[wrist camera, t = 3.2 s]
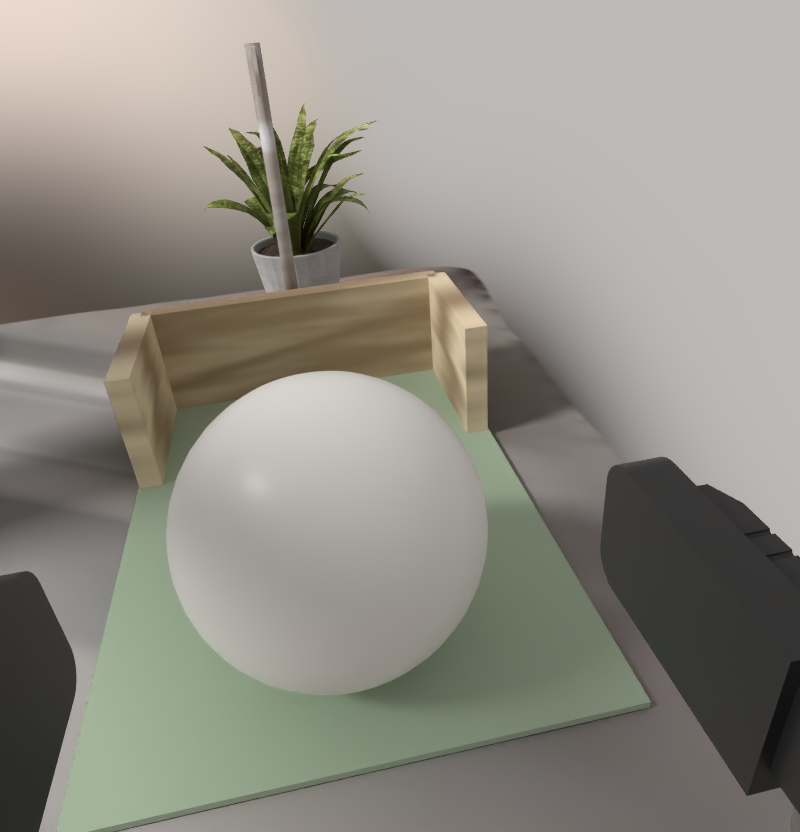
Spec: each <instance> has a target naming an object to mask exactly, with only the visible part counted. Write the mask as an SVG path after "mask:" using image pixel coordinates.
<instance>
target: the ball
mask: <svg viewBox="0 0 800 832" xmlns="http://www.w3.org/2000/svg"><path fill="white" fill-rule="evenodd" d="M487 540H488V519H487V509H486V503H485V497H484V493H483V489H482V485H481V481H480V478H479V476H478V473H477V471H476V468H475V466H474V464H473V462H472V459H471V457H470V455H469V453H468V451H467V450H466V448H465V447H464V445H463V444H462V442H461V441H460V439H459V438H458V436H457V435H456V433H455V432H454V430H453V429H452V428H451V427H450V426H449V425H448V424H447V423H446V422H445V421H444V420H443V418H442V417H441V416H440V415H439V414H438V413H437V412H436V411H435V410H434V409H432V408H431V407H430V406H428V405H427V404H426V403H424V402H423V401H422V400H420V399H419V398H418V397H416V396H415V395H413V394H412V393H410V392H408V391H406V390H404V389H402V388H400V387H398V386H396V385H394V384H392V383H390V382H387V381H385V380H382V379H379V378H375V377H372V376H368V375H364V374H359V373H354V372H347V371H316V372H308V373H302V374H296V375H292V376H288V377H284V378H281V379H278V380H275V381H272V382H269V383H267V384H265V385H262V386H260V387H258V388H256V389H255V390H253V391H251V392H249V393H248V394H246V395H244V396H243V397H241V398H240V399H238V400H237V401H235V402H234V403H232V404H231V405H230V406H228V407H227V408H226V409H225V410H224V411H223V412H222V413H221V414H219V415H218V416H217V417H216V418H215V419H214V420H213V421H212V422H211V423H210V424H209V425H208V427H207V428H206V429H205V430H204V431H203V433H202V434H201V436H200V437H199V438H198V440H197V441H196V442H195V444H194V445H193V447H192V448H191V449H190V451H189V453H188V455H187V457H186V459H185V461H184V463H183V465H182V467H181V469H180V471H179V473H178V476H177V478H176V482H175V485H174V488H173V492H172V495H171V499H170V503H169V508H168V517H167V528H166V545H167V557H168V563H169V569H170V573H171V577H172V581H173V585H174V587H175V590H176V593H177V595H178V598H179V600H180V602H181V604H182V607H183V609H184V611H185V613H186V615H187V616H188V618H189V619H190V621H191V623H192V624H193V626H194V627H195V629H196V630H197V631H198V633H199V634H200V636H201V637H202V638H203V640H204V641H205V642H206V643H207V644H208V645H209V646H210V647H211V648H212V649H213V650H214V651H215V652H216V653H217V654H218V655H219V656H221V657H222V658H223V659H224V660H225V661H226V662H228V663H229V664H230V665H232V666H233V667H234V668H236V669H237V670H239V671H240V672H242V673H244V674H246V675H248V676H250V677H252V678H254V679H256V680H258V681H259V682H261V683H263V684H266V685H269V686H272V687H275V688H278V689H281V690H285V691H290V692H295V693H301V694H307V695H321V696H326V695H343V694H349V693H355V692H360V691H364V690H367V689H371V688H375V687H377V686H380V685H382V684H385V683H387V682H390V681H392V680H394V679H396V678H398V677H400V676H402V675H403V674H405V673H407V672H409V671H410V670H412V669H413V668H414V667H416V666H417V665H419V664H420V663H422V662H423V661H424V660H426V659H427V658H428V657H429V656H431V655H432V654H433V653H434V652H435V651H436V650H437V649H438V648H439V647H440V646H441V645H442V644H443V643H444V642H445V640H446V639H447V638H448V637H449V636H450V635H451V633H452V632H453V631H454V630H455V628H456V627H457V626H458V625H459V623H460V621H461V620H462V618H463V617H464V615H465V613H466V612H467V610H468V608H469V606H470V604H471V602H472V600H473V597H474V595H475V593H476V590H477V588H478V586H479V582H480V579H481V575H482V571H483V567H484V563H485V558H486V552H487Z"/></svg>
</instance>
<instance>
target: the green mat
mask: <svg viewBox="0 0 800 832" xmlns="http://www.w3.org/2000/svg"><path fill="white" fill-rule="evenodd" d="M379 379H382V380H385V381H387V382H390V383H392V384H394V385H396V386H398V387H400V388H402V389H404V390H406V391H408V392H410V393H412V394H413V395H415V396H416V397H418V398H419V399H420V400H422V401H423V402H424V403H426V404H427V405H428V406H430V407H431V408H432V409H434V410H435V411H436V412H437V413H438V414H439V415H440V416H441V417H442V418H443V420H444V421H445V422H446V423H447V424H448V425H449V426H450V427H451V428H452V429H453V430H454V432H455V433H456V435H457V436H458V438H459V439H460V441H461V442H462V444H463V445H464V447H465V448H466V450H467V451H468V453H469V455H470V457H471V459H472V462H473V464H474V466H475V468H476V471H477V473H478V476H479V478H480V481H481V485H482V489H483V493H484V497H485V503H486V509H487V519H488V540H487V552H486V558H485V563H484V567H483V571H482V575H481V579H480V582H479V586H478V588H477V590H476V593H475V595H474V597H473V600H472V602H471V604H470V606H469V608H468V610H467V612H466V613H465V615H464V617H463V618H462V620H461V621H460V623H459V625H458V626H457V627H456V628H455V630H454V631H453V632H452V633H451V635H450V636H449V637H448V638H447V639H446V640H445V642H444V643H443V644H442V645H441V646H440V647H439V648H438V649H437V650H436V651H435V652H434V653H433V654H432V655H431V656H429V657H428V658H427V659H426V660H424V661H423V662H422V663H420V664H419V665H417V666H416V667H414V668H413V669H412V670H410V671H409V672H407V673H405V674H403V675H402V676H400V677H398V678H396V679H394V680H392V681H390V682H387V683H385V684H382V685H380V686H377V687H375V688H371V689H367V690H364V691H360V692H355V693H349V694H343V695H326V696H321V695H307V694H301V693H295V692H290V691H285V690H281V689H278V688H275V687H272V686H269V685H266V684H263V683H261V682H259V681H258V680H256V679H254V678H252V677H250V676H248V675H246V674H244V673H242V672H240V671H239V670H237V669H236V668H234V667H233V666H232V665H230V664H229V663H228V662H226V661H225V660H224V659H223V658H222V657H221V656H219V655H218V654H217V653H216V652H215V651H214V650H213V649H212V648H211V647H210V646H209V645H208V644H207V643H206V642H205V641H204V640H203V638H202V637H201V636H200V634H199V633H198V631H197V630H196V629H195V627H194V626H193V624H192V623H191V621H190V619H189V618H188V616H187V615H186V613H185V611H184V609H183V607H182V604H181V602H180V600H179V598H178V595H177V593H176V590H175V587H174V585H173V581H172V577H171V573H170V569H169V563H168V557H167V545H166V528H167V517H168V508H169V503H170V499H171V495H172V492H173V488H174V485H175V482H176V478H177V476H178V473H179V471H180V469H181V467H182V465H183V463H184V461H185V459H186V457H187V455H188V453H189V451H190V449H191V448H192V447H193V445H194V444H195V442H196V441H197V440H198V438H199V437H200V436H201V434H202V433H203V431H204V430H205V429H206V428H207V427H208V425H209V424H210V423H211V422H212V421H213V420H214V419H215V418H216V417H217V416H218V415H219V414H221V413H222V412H223V411H224V410H225V409H226V408H227V407H228V406H230V405H231V404H232V403H234V402H235V401H237V400H233V401H226V402H220V403H213V404H207V405H200V406H194V407H187V408H181V409H177V412H176V418H175V423H174V428H173V434H172V439H171V444H170V450H169V455H168V460H167V466H166V471H165V476H164V482H163V485H159V486H153V487H148V488H142V489H140V487H138V492H137V496H136V500H135V504H134V508H133V512H132V517H131V521H130V525H129V529H128V533H127V537H126V542H125V546H124V550H123V554H122V558H121V563H120V567H119V571H118V575H117V579H116V583H115V588H114V592H113V596H112V600H111V604H110V609H109V613H108V617H107V621H106V625H105V629H104V634H103V638H102V642H101V646H100V650H99V654H98V659H97V663H96V667H95V671H94V675H93V680H92V684H91V688H90V692H89V696H88V700H87V705H86V709H85V713H84V717H83V721H82V726H81V730H80V734H79V738H78V742H77V746H76V751H75V755H74V759H73V763H72V767H71V771H70V776H69V780H68V784H67V788H66V792H65V797H64V801H63V805H62V809H61V813H60V817H59V822H58V826H57V830H56V832H114V831H118V830H122V829H127V828H131V827H135V826H140V825H144V824H148V823H153V822H157V821H161V820H166V819H170V818H174V817H179V816H183V815H187V814H192V813H196V812H200V811H204V810H209V809H213V808H217V807H222V806H226V805H230V804H235V803H239V802H243V801H248V800H252V799H256V798H261V797H265V796H269V795H274V794H278V793H282V792H287V791H291V790H295V789H299V788H304V787H308V786H312V785H317V784H321V783H325V782H330V781H334V780H338V779H343V778H347V777H351V776H356V775H360V774H364V773H369V772H373V771H377V770H382V769H386V768H390V767H395V766H399V765H403V764H407V763H412V762H416V761H420V760H425V759H429V758H433V757H438V756H442V755H446V754H451V753H455V752H459V751H464V750H468V749H472V748H477V747H481V746H485V745H490V744H494V743H498V742H502V741H507V740H511V739H515V738H520V737H524V736H528V735H533V734H537V733H541V732H546V731H550V730H554V729H559V728H563V727H567V726H572V725H576V724H580V723H585V722H589V721H593V720H598V719H602V718H606V717H610V716H615V715H619V714H623V713H628V712H632V711H636V710H641V709H645V708H649V707H650V705H651V701H650V699H649V698H648V696H647V694H646V693H645V691H644V689H643V688H642V686H641V684H640V682H639V681H638V679H637V677H636V676H635V674H634V672H633V671H632V669H631V667H630V666H629V664H628V662H627V661H626V659H625V657H624V656H623V654H622V652H621V651H620V649H619V647H618V645H617V644H616V642H615V640H614V639H613V637H612V635H611V634H610V632H609V630H608V629H607V627H606V625H605V624H604V622H603V620H602V619H601V617H600V615H599V614H598V612H597V610H596V608H595V607H594V605H593V603H592V602H591V600H590V598H589V597H588V595H587V593H586V592H585V590H584V588H583V587H582V585H581V583H580V582H579V580H578V578H577V577H576V575H575V573H574V571H573V570H572V568H571V566H570V565H569V563H568V561H567V560H566V558H565V556H564V555H563V553H562V551H561V550H560V548H559V546H558V545H557V543H556V541H555V540H554V538H553V536H552V535H551V533H550V531H549V529H548V528H547V526H546V524H545V523H544V521H543V519H542V518H541V516H540V514H539V513H538V511H537V509H536V508H535V506H534V504H533V503H532V501H531V499H530V498H529V496H528V494H527V492H526V491H525V489H524V487H523V486H522V484H521V482H520V481H519V479H518V477H517V476H516V474H515V472H514V471H513V469H512V467H511V466H510V464H509V462H508V461H507V459H506V457H505V455H504V454H503V452H502V450H501V449H500V447H499V445H498V444H497V442H496V440H495V439H494V437H493V435H492V434H491V432H490V430H489V429H488V430H486V431H480V432H474V433H468V434H467V432H466V430H465V428H464V426H463V424H462V423H461V421H460V419H459V417H458V415H457V413H456V411H455V409H454V408H453V406H452V404H451V402H450V400H449V398H448V396H447V395H446V393H445V391H444V389H443V387H442V385H441V383H440V381H439V380H438V378H437V376H436V374H435V372H434V370H426V371H420V372H414V373H407V374H401V375H394V376H388V377H381V378H379Z"/></svg>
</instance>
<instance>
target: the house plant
mask: <svg viewBox="0 0 800 832" xmlns="http://www.w3.org/2000/svg"><path fill="white" fill-rule="evenodd" d="M374 122H375V121H374ZM371 123H373V122H370V123H367V124H364V125H361V126H358V127H356V128H354V129H352V130H349V131H346V132H344V133H342V134H341V135H339V136H338V137H337V138H338V139H337V138H336V139H337V140H336V141H335V142H334V143H333V144H332V145H331V146H330V144H331V143H332V142H333V141H332V142H331V143H330V144H329V145H328V146H327V147H326V148H325V149H324V151H323V153H322V154H321V156H320V158H319V160H318V162H317V164H316V165H315V166H313V167H311V168H310V169H308V166H309V161H310V158H311V155H312V152H313V148H314V139H313V132H314V129H315V126H316V120H315V121H313V122H311V123H310V124H309V125H308V126H307V127H306V112H305V109H304V105H303V106H302V109H301V111H300V115H299V117H298V121H297V126H296V130H295V133H294V136H293V139H292V142H291V147H290V152H289V158H288V165H287V163H286V159H285V155H284V152H283V148H282V145H281V141H280V140H279V137H278V135H277V134H276V132H275V130H274V128H273V131H274V137H275V144H276V150H277V156H278V163H279V169H280V175H281V182H282V188H283V195H284V201H285V207H286V214H287V220H288V226H289V233H290V239H291V245H292V252H293V258H294V264H295V271H296V277H297V283H298V288H305V287H313V286H320V285H328V284H335V283H339V273H340V247H341V239H340V238H339V236H338V235H336V234H334V233H330V232H325V231H320V230H321V228H322V227H323V226H324V224H325V223H326V222H327V221H328V219H329V218H330V217H331V216H332V215H333V214H334V212H335V211H336V210H337V209H338V208H339V206H340V205H341V204H342V202H343V201H351V202H355V203H358V204H361V205H362V206H364V207H365V208H366V206H365V205H364V204H363V203H362V202H361V201H360V200H358V199H356V198H353V197H351V196H355V195H365V194H357V193H356V192H355V193H356V194H353V195H351V196H349V197H348V196H344V197H340V196H342V195H344V194H346V193H348V192H354V191H349V190H345V189H343V188H342V186H343V185H344V184H345V183H346V182H347V181H348V180H350V179H351V178H353V177H355V176H358V175H361V174H357V175H352V176H349V177H347V178H345V179H343V180H342V181H341V182H339V183H338V184H336V185H327V184H323V182H324V180H325V178H326V175H327V173H328V171H329V169H330V167H331V165H332V164H333V163H334V162H336V161H338V160H340V159H343V158H345V157H348V156H351V155H353V154H355V153H357V152H359V151H356V152H352V153H346V154H342V155H341V154H340V152H341V151H342V150H343V149H344V148H345V147H346V146H347V145H348V144H349V143H350V142H352V141H354V140H358V139H361V138H363V137H359V138H353V139H350V140H347V141H345V142H344V143H342V142H343V141H344V140H345V139H346V138H348V137H349V136H350V135H351V134H352V133H353V132H355V131H360V130H366V129H360V128H362V127H364V126H367V125H369V124H371ZM229 130H230V131H231V133H232V135H233V137H234V138H235V140H236V142H237V144H238V146H239V148H240V151H241V153H242V155H243V157H244V159H245V161H246V163H247V166H248V169H249V171H250V174H251V177H252V179H253V181H254V182H255V184H256V185H257V186H256V185H255V184H254V183H253V182H252V180H251V179H250V178H249V176H248V175H247V173H246V172H245V171H244V170H243V169H242V168H241V167H240V166H239V164H238V163H237V162H235V161H234V160H233V159H232V158H231V157H230V156H228V157H229V158H230V160H231V161H232V162H231V161H230V160H229V159H227V158H226V157H225V156H223V155H222V154H220V153H218V152H216V151H214V150H211V149H209V148H207V147H205V148H206V149H207V150H208V151H209V152H211V153H212V154H214V155H215V156H217V157H219V158H220V159H221V161H222V162H223V163H224V164H225V165H226V166H227V167H228V168H229V169H230V170H231V171H233V172H234V173H235V174H236V175H237V176H238V177H239V178H240V179H241V180H243V182H244V183H245V184H246V185H247V186H248V188H249V189H250V190H251V192H252V193H253V194H254V196H255V197H256V198H255V197H254V198H250V199H248V200H246V201H245V203H246V204H247V205H248V206H249V207H250V208H251V209H252V210H251V209H250V208H248V207H247V206H244V205H242V204H240V203H237V202H234V201H230V200H218V201H214V202H212V203H211V204H209V205H208V206H207V207H206V208H229V209H235V210H239V211H242V212H246V213H249V214H250V215H252V216H254V217H255V218H256V219H258V220H259V221H260V222H261V223H262V224H263V225H264V226H265V229H267V230H268V232H269V233H270V236H271V237H267V238H265V239H263V240H260V241H258V242H257V243H255V244H254V245H253V246H252V248H251V252H252V255H253V257H254V260H255V263H256V266H257V268H258V271H259V274H260V277H261V280H262V282H263V285H264V287H265V290H266V293H268V292H276V291H283V290H286V289H285V283H284V277H283V271H282V265H281V259H280V253H279V247H278V241H277V235H276V229H275V223H274V217H273V211H272V205H271V199H270V193H269V187H268V181H267V175H266V169H265V164H264V158H263V152H262V146H261V147H259V148H258V149H257V148H256V147H255V146H254V145H253V144H252V143H251V142H249V141H248V140H247V139H246V138H245V137H244V136H243V135H242V134H241V133H240V132H238V131H235V130H233V129H230V128H229ZM248 133H251V134H255V135H257V136H258V137H259V139H260V134H259V133H257V132H248ZM340 136H341V137H340ZM339 137H340V138H339ZM341 143H342V144H341ZM340 144H341V145H340ZM339 145H340V146H339ZM329 146H330V148H329V149H328V147H329ZM338 146H339V147H338ZM337 147H338V148H337ZM336 148H337V149H336ZM327 149H328V150H327ZM335 149H336V150H335ZM332 153H333V154H332ZM338 155H339V156H338ZM330 156H331V157H330ZM329 157H330V158H329ZM322 169H324V170H323V173H322V176H321V178H320V180H319V183H318V185H316V186H314V187H313V188H312V186H313V184H314V182H315V180H316V178H317V176H318V174H319V173H320V171H321V170H322ZM309 179H310V180H309ZM308 180H309V182H308V184H307V187H306V189H305V192H304V186H305V184H306V183H307V181H308ZM328 186H334V188H333V190H331V191H330V192H328V193H326V194H325V195H324V196H323V197H322V198H321V199H320V200H319V201H318V203H317V204H316V206H315V207H314V205H315V203H316V200H317V198H318V195H319V192H320V191H321V190H322V189H323V188H326V187H328ZM258 188H259V189H258ZM311 188H312V189H311ZM334 201H341V202H340V203H339V204H338V205H337V206H336V208H335V209H334V210H333V212H332V213H331V214H330V215H329V217H328V218H327V219H326V220H325V222H324V223H323V224H322V225H321V227H320V228H319V229H318V230H317V231H315V230H316V228H317V226H318V224H319V222H320V220H321V218H322V216H323V214H324V212H325V210H326V208H327V207H328V205H329V204H330V203H332V202H334ZM309 206H310V207H309ZM313 208H314V209H313ZM308 209H309V210H308ZM307 212H308V213H307ZM306 215H307V217H306ZM305 219H306V220H305ZM304 222H305V224H304ZM303 225H304V229H303Z"/></svg>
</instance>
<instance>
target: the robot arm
mask: <svg viewBox="0 0 800 832" xmlns="http://www.w3.org/2000/svg"><path fill="white" fill-rule="evenodd" d="M601 559H602V564H603V568H604V571H605V574H606V577H607V580H608V582H609V584H610V586H611V588H612V589H613V591H614V592H615V594H616V595H617V597H618V599H619V600H620V602H621V603H622V605H623V606H624V608H625V609H626V611H627V612H628V614H629V615H630V617H631V619H632V620H633V622H634V623H635V625H636V626H637V628H638V629H639V631H640V632H641V634H642V635H643V637H644V639H645V640H646V642H647V643H648V645H649V646H650V648H651V649H652V651H653V652H654V654H655V655H656V657H657V658H658V660H659V662H660V663H661V665H662V666H663V668H664V669H665V671H666V672H667V674H668V675H669V677H670V678H671V680H672V682H673V683H674V685H675V686H676V688H677V689H678V691H679V692H680V694H681V695H682V697H683V698H684V700H685V701H686V703H687V705H688V706H689V708H690V709H691V711H692V712H693V714H694V715H695V717H696V718H697V720H698V721H699V723H700V725H701V726H702V728H703V729H704V731H705V732H706V734H707V735H708V737H709V738H710V740H711V741H712V743H713V745H714V746H715V748H716V749H717V751H718V752H719V754H720V755H721V757H722V758H723V760H724V761H725V763H726V764H727V766H728V768H729V769H730V771H731V772H732V774H733V775H734V777H735V778H736V780H737V781H738V783H739V784H740V786H741V788H742V789H743V791H744V792H745V794H746V795H747V796H748V795H752V794H756V793H760V792H764V791H768V790H772V789H775V788H779V787H781V788H782V790H783V791H784V793H785V794H786V795H787V797H788V798H789V800H790V801H791V803H792V804H793V805H794V807H795V809H794V811H793V814H792V818H791V832H800V557H799V556H794V555H793V553H792V549H791V548H790V547H789V546H787V545H786V544H785V543H784V542H783V541H782V540H781V539H780V538H779V537H778V536H777V535H776V534H771V533H770V529H769V528H768V526H766V525H765V524H764V523H763V522H762V521H761V520H760V519H759V518H758V517H757V516H756V515H755V514H754V513H753V512H752V511H751V510H750V509H749V508H748V507H747V506H745V505H744V504H743V503H742V502H740V501H738V500H736V499H734V498H732V497H730V496H728V495H727V494H725V493H723V492H721V491H719V490H717V489H715V488H713V487H712V486H710V485H708V484H706V485H701V486H696V485H695V484H694V483H693V482H692V481H691V480H690V479H689V478H688V477H687V476H686V475H685V474H684V473H683V472H682V471H681V470H680V469H679V468H678V467H677V466H676V465H675V464H674V463H673V462H672V461H671V460H670V459H668V458H665V457H658V458H653V459H647V460H642V461H636V462H631V463H625V464H620V465H615V466H613V467H612V468H611V469H610V471H609V473H608V477H607V485H606V495H605V505H604V515H603V525H602V536H601ZM75 691H76V666H75V660H74V655H73V652H72V649H71V647H70V645H69V643H68V641H67V639H66V636H65V634H64V632H63V630H62V628H61V626H60V624H59V622H58V620H57V618H56V616H55V614H54V611H53V609H52V607H51V605H50V603H49V601H48V599H47V597H46V595H45V593H44V591H43V589H42V586H41V584H40V583H39V581H38V579H37V578H36V576H35V575H34V574H32V573H31V572H29V571H24V572H19V573H13V574H8V575H2V576H0V832H39V828H40V824H41V821H42V817H43V813H44V810H45V806H46V802H47V798H48V795H49V791H50V787H51V783H52V780H53V776H54V772H55V768H56V765H57V761H58V757H59V753H60V750H61V746H62V742H63V738H64V735H65V731H66V727H67V723H68V720H69V716H70V712H71V709H72V705H73V701H74V697H75Z"/></svg>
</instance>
